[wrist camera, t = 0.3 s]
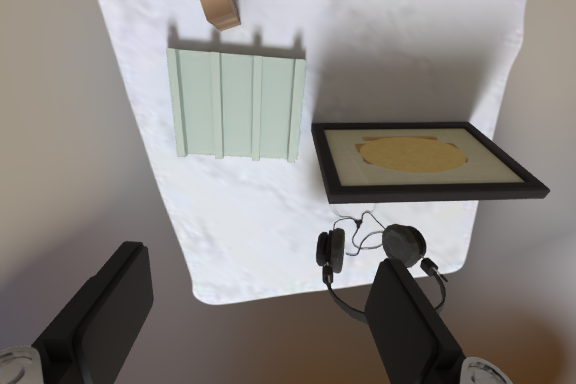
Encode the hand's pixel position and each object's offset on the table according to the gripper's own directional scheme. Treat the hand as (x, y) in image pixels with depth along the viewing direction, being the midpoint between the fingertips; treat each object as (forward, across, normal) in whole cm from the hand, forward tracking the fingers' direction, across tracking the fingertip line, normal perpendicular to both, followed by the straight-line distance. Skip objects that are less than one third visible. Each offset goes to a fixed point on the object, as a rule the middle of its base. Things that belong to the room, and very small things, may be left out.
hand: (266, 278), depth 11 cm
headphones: (+30, -16, +16) cm, 37 cm away
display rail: (+30, +4, -2) cm, 30 cm away
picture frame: (+30, -18, +2) cm, 35 cm away
